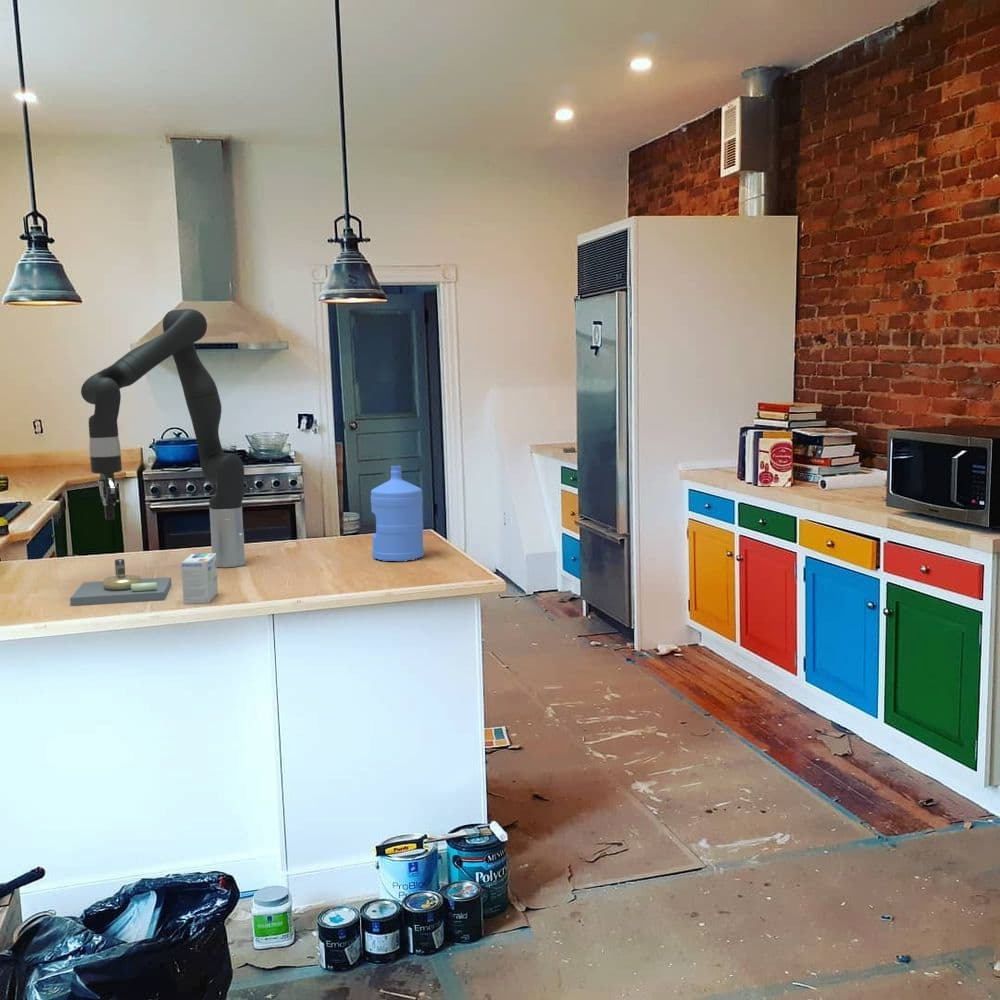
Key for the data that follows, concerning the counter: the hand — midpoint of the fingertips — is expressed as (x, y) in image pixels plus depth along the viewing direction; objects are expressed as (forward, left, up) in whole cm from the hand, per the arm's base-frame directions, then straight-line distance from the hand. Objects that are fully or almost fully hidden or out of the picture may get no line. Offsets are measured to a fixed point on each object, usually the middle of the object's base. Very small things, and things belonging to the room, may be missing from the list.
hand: (110, 519), depth 256 cm
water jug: (-78, -20, -19) cm, 83 cm away
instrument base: (-3, +9, -18) cm, 21 cm away
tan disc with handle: (-3, +5, -16) cm, 17 cm away
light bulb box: (-23, +19, -19) cm, 36 cm away
